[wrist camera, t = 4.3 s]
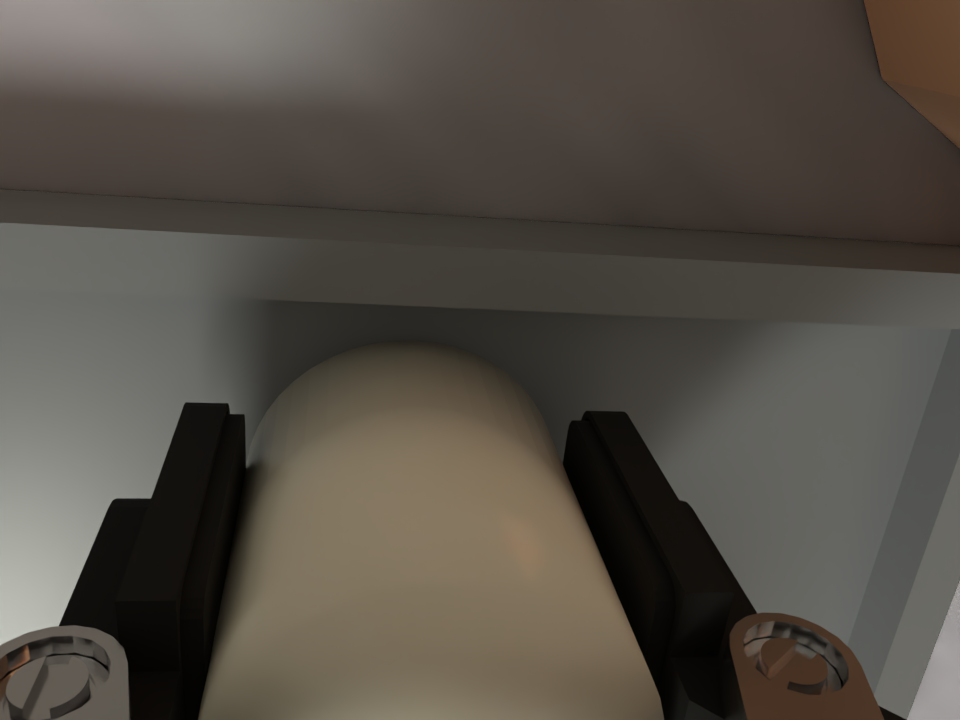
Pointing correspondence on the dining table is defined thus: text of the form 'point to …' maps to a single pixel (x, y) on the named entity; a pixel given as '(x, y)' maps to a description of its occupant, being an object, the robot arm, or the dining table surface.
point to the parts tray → (527, 359)
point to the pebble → (416, 557)
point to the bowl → (921, 56)
